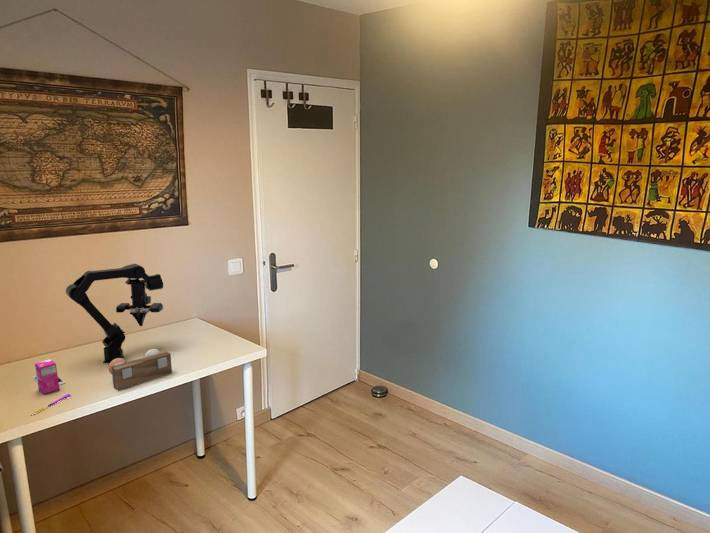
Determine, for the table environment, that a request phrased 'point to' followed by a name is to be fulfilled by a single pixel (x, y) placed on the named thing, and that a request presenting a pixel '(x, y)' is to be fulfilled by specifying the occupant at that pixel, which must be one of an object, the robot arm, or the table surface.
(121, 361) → the terracotta plunger
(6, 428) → the table surface
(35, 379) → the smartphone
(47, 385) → the supplement box
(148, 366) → the panel
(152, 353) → the grey plunger
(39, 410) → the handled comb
